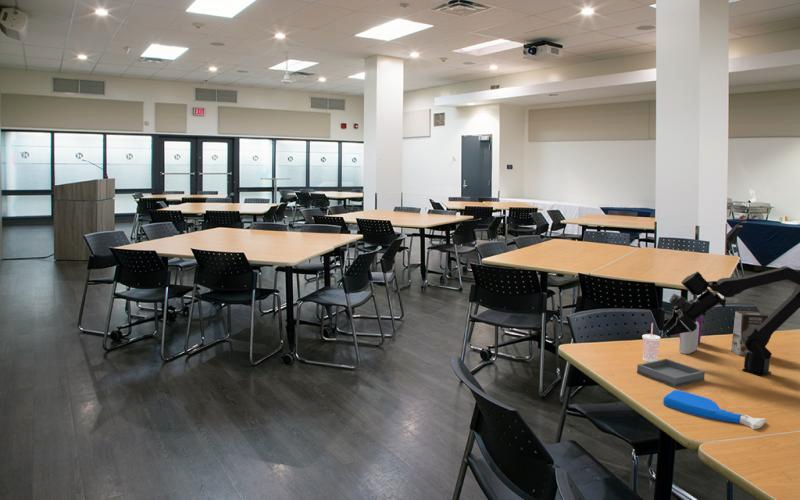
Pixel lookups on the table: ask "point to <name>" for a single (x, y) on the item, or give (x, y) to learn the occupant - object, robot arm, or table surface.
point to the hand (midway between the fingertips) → (665, 331)
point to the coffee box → (744, 328)
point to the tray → (671, 372)
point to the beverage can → (699, 328)
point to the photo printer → (689, 341)
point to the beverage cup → (650, 346)
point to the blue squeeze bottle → (707, 409)
